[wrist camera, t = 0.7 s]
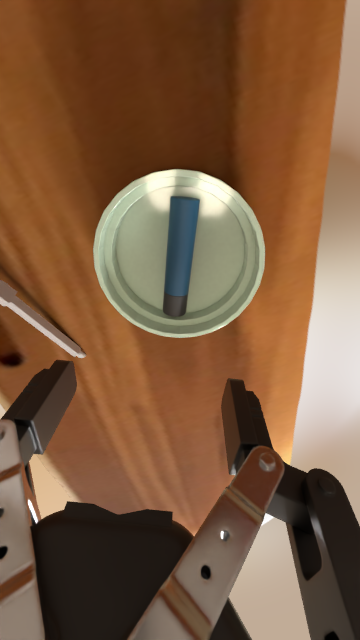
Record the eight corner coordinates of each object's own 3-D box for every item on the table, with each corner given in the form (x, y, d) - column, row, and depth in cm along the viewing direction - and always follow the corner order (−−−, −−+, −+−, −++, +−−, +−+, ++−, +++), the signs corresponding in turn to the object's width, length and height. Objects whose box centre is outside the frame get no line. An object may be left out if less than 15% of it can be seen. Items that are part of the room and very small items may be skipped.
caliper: (-21, 249, 33) (-63, 265, 28) (-16, 245, 33) (-57, 260, 27) (82, 356, 42) (66, 384, 36) (87, 354, 41) (71, 381, 36)
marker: (171, 195, 28) (169, 197, 26) (199, 198, 28) (200, 201, 26) (163, 304, 36) (161, 315, 33) (186, 306, 36) (185, 318, 33)
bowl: (100, 159, 27) (85, 158, 24) (275, 179, 28) (288, 181, 24) (109, 312, 37) (99, 329, 33) (237, 326, 37) (242, 344, 34)
